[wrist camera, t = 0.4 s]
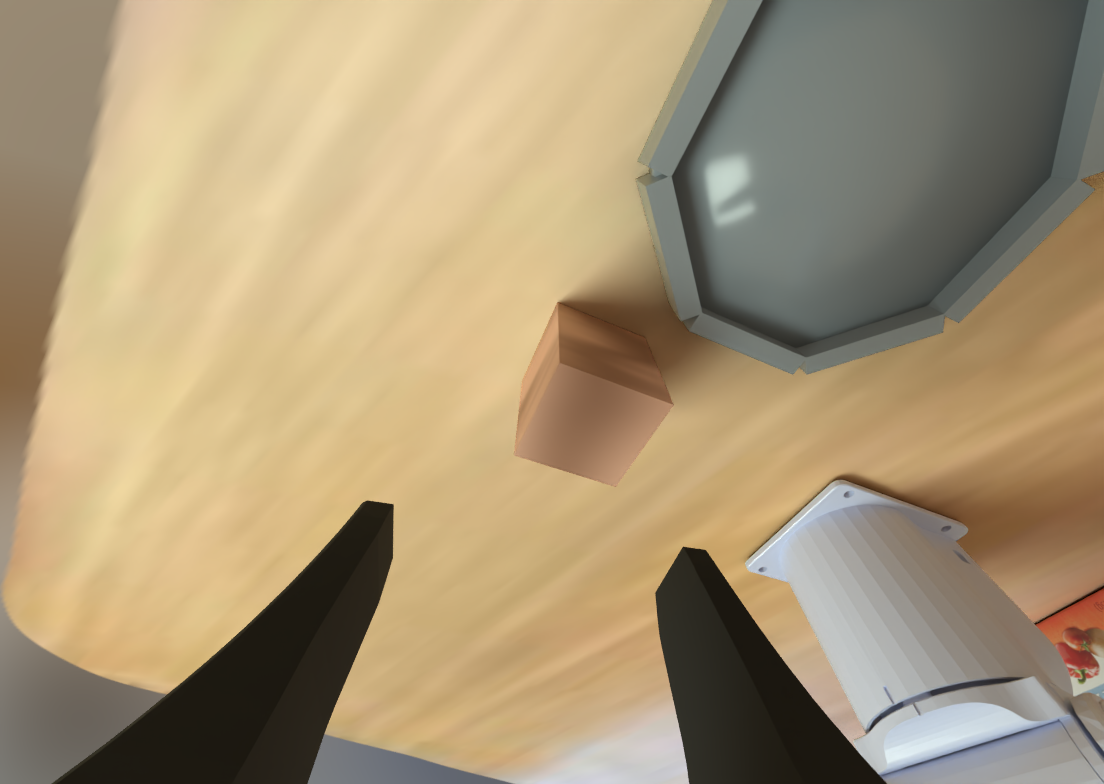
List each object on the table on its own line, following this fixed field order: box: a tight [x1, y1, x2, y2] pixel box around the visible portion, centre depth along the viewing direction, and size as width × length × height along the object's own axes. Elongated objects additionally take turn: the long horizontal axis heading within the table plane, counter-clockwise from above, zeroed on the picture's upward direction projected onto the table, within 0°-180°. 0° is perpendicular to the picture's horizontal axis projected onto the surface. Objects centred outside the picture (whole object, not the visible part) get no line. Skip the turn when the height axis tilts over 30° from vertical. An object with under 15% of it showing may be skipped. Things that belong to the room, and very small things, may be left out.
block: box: [514, 302, 673, 487], centre depth 16 cm, size 4×4×5 cm
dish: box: [636, 0, 1104, 374], centre depth 14 cm, size 13×13×2 cm
